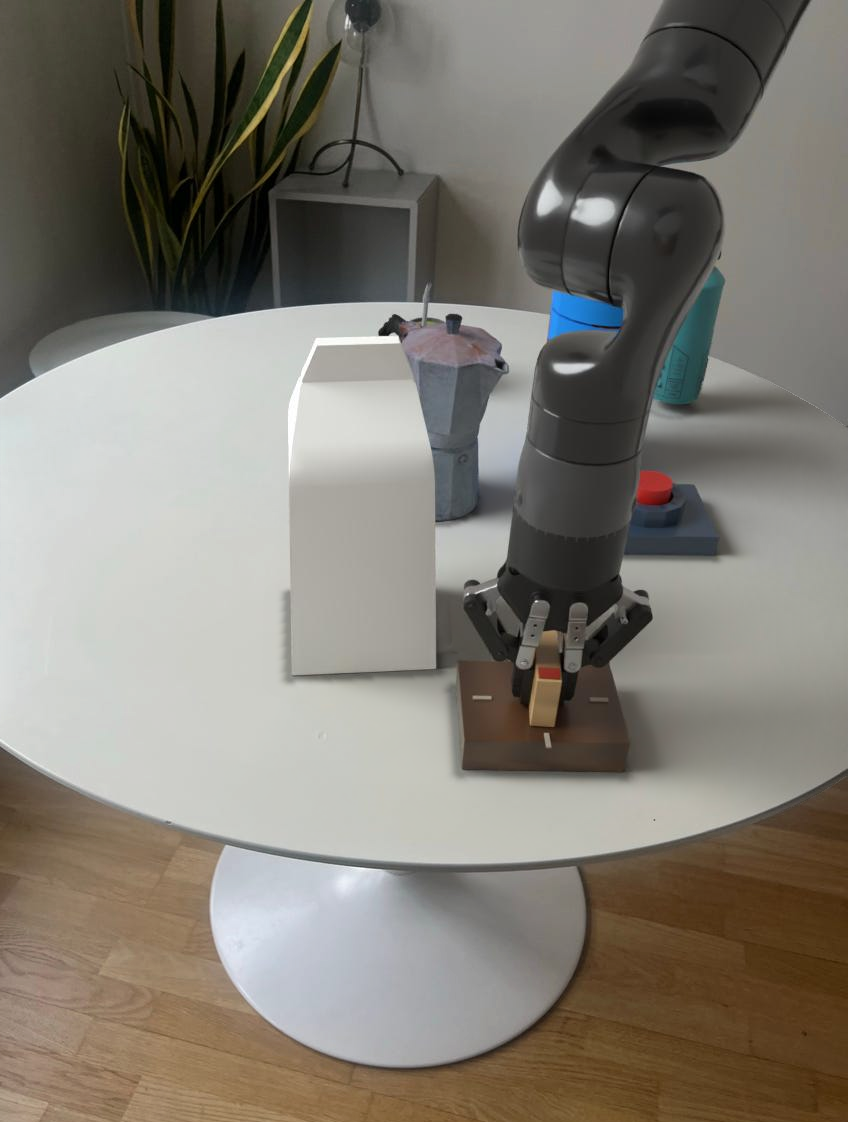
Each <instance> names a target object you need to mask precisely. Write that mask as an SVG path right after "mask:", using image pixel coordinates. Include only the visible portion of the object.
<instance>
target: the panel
mask: <svg viewBox="0 0 848 1122" xmlns="http://www.w3.org/2000/svg"><path fill="white" fill-rule="evenodd" d="M456 665H457V667H456V679H455V698H456V710H457V712H456V713H457V724H458V725H457V726H458V737H459V750H460V751H459V753H460V764H461V765H460V766H461V770H481V771H482V770H486V771H542V772H543V771H544V772H545V771H551V772H610V773H611V772H613V773H614V772H615V773H616V772H617V773H624V772H625V768H626V764H627V761H628V756H629V752H630V749H631V745H632V743H631V742H632V741H631V738H630V735H629V732H628V727H627V724H626V719H625V716H624V712H623V709H622V706H621V700H620V697H619V694H618V690H617V687H616V686H617V685H616V682H615V679H614V675H613V672H612V668H611V664H610V662H609V663H608V664H607V665H605V666H604V667H601V668H596V667H594V666H592V665H587V666H584V667H582V668H581V669H580V670H579V673H578V677H577V683H576V688H575V693H574V696H573V698H572V699H571V700H570V701H567V700H564V705H563V707H558V709H557V715H556V721H555V726H554V727H543V726H531V725H530V717H529V705H526V704H520V703H519V697H514V696H513V694H512V686H511V678H512V671H513V662H511V661H510V660H505V661H496V660H472V659H471V660H470V659H466V660H465V659H464V660H462V659H458V660H457V664H456Z"/></svg>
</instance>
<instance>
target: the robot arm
mask: <svg viewBox="0 0 848 1122" xmlns="http://www.w3.org/2000/svg"><path fill="white" fill-rule="evenodd" d="M812 2H813V0H662V2H661V3H660V5H659V7H658V9H657V11H656V12H655V15H654V17H653V19H652V21H651V23H650V25H649V27H648V29H647V31H646V33H645V35H644V37H643V39H642V41H641V43H640V44H639V47H638V48H637V51H636V53H635V55H634V56H633V59H632V60H631V63H630V64H629V66H628V67H627V69H626V70H625V71H624V72H623V74H622V75H621V76H620V77H619V78H617V80H616V81H615V82H613V84H612V85H611V86H610V88H608V90H606V92H605V93H604V94H603V96H602V97H601V98H600V99H599V100H598V101H597V102H596V104H594V106H593V107H592V108H591V109H590V111H588V112H587V114H586V115H585V116H584V117H583V118H582V119H581V121H580V122H579V123H578V124H577V125H576V126H575V127H574V128H573V130H571V132H570V133H569V134H568V135H567V136H566V137H565V138H564V139H563V141H562V142H561V143H560V144H559V145H558V146H557V148H556V149H555V150H554V152H553V153H552V154H551V155H550V156H549V158H547V160H546V162H545V163H544V164H543V166H542V167H541V169H540V170H539V172H538V174H537V176H536V177H535V178H534V180H533V182H532V184H531V186H530V188H529V190H528V191H527V194H526V197H525V199H524V202H523V204H522V208H521V211H520V214H519V219H518V224H517V234H516V235H517V236H516V237H517V251H518V256H519V260H520V263H521V266H522V268H523V270H524V272H525V273H526V275H527V276H528V278H530V279H531V281H533V282H534V283H535V284H537V285H538V286H540V287H542V288H544V289H547V290H550V291H552V292H553V291H556V292H560V293H563V294H567V295H571V296H576V297H579V298H583V299H587V300H591V301H594V302H598V303H602V304H606V305H610V306H614V307H618V308H620V309H623V320H622V324H621V327H620V329H619V330H579V331H572V332H567V333H563V334H560V335H557V336H555V337H554V338H552V339H550V340H549V341H548V342H547V341H546V343H545V344H544V345H543V346H542V348H541V349H540V350H539V353H538V356H537V358H536V363H535V367H534V371H533V372H534V374H533V379H532V381H533V382H532V388H531V395H530V403H529V410H528V418H527V427H526V434H525V438H524V443H523V445H522V450H521V454H520V457H519V461H518V465H517V466H518V467H517V473H516V481H515V489H514V495H513V496H514V497H513V505H512V514H511V521H510V530H509V538H508V546H507V555H506V559H505V561H504V563H503V565H501V566H500V568H498V571H497V575H496V577H495V578H493V579H490V580H487V581H484V582H482V583H481V582H480V581H479V580H476V579H468V580H467V581H465V583H464V585H463V599H462V601H463V610H464V612H465V614H466V616H467V617H468V619H469V620H470V622H471V624H472V626H473V628H474V629H475V631H476V633H477V634H478V636H479V638H480V639H481V641H482V642H483V644H484V646H485V648H486V649H487V651H488V653H489V654H490V656H491V658H492V659H493V661H511V662H513V671H512V678H511V686H512V694H513V696H514V697H519V703H520V704H526V705H529V703H530V697H531V691H532V685H533V678H534V672H535V668H534V657H535V653H536V649H537V648H538V647H539V644H540V640H541V636H542V633H543V632H545V631H552V630H555V631H558V633H562V637H561V638H562V641H561V652H559V653H560V663H561V674H562V686H561V692H560V698H559V704H558V707H563V705H564V700H567V701H570V700H571V699H572V698H573V696H574V693H575V688H576V683H577V677H578V673H579V670H580V669H581V668H582V667H584V666H587V665H592V666H594V667H596V668H601V667H604V666H605V665H607V664H608V663H609V664H610V662H611V661H612V660H613V659H614V658H615V657H616V656H617V655H618V654H619V653H620V652H621V651H622V650H623V649H625V648H626V646H628V644H630V643H631V642H632V641H633V640H634V639H635V638H636V637H638V635H639V634H640V633H641V632H642V631H643V630H645V628H646V627H647V626H648V625H649V624H650V623H651V622H652V621H653V619H654V616H653V611H652V606H651V602H650V597H649V593H648V592H647V590H645V589H636V590H634V591H632V590H630V589H628V588H626V587H624V586H623V583H622V582H623V581H622V576H621V573H620V572H621V569H622V568H621V567H622V563H623V559H624V556H625V555H624V550H625V545H626V541H627V536H628V532H629V527H630V522H631V518H632V513H633V511H634V510H635V507H636V503H637V498H638V497H637V490H638V485H639V479H640V471H642V469H641V467H642V452H643V446H644V441H645V436H646V432H647V428H648V422H649V417H650V414H651V408H652V405H653V399H654V398H653V395H654V391H655V388H656V385H657V382H658V379H659V376H660V374H661V371H662V369H663V366H664V364H665V362H666V359H667V357H668V354H669V352H670V350H671V348H672V345H673V343H674V341H675V339H676V337H677V335H678V333H679V331H680V329H681V327H682V325H683V323H684V321H685V319H686V317H687V315H688V313H689V312H690V310H691V308H692V306H693V305H694V303H695V301H696V299H697V298H698V296H699V294H700V292H701V291H702V289H703V287H704V285H705V283H706V282H707V280H708V278H709V276H710V274H711V272H712V270H713V268H714V266H715V267H716V264H717V261H718V260H717V259H718V257H719V254H720V252H721V253H722V250H723V249H722V248H723V246H724V245H723V244H724V241H725V233H726V213H725V209H724V204H723V200H722V198H721V195H720V193H719V190H718V189H717V188H716V186H715V185H714V183H713V182H712V181H711V180H709V179H708V178H707V177H705V176H704V175H701V174H699V173H696V172H693V171H690V170H689V171H688V170H684V169H680V168H679V169H678V168H673V167H668V165H674V164H684V163H694V162H701V161H702V162H703V161H707V160H711V159H715V158H717V157H719V156H721V155H724V154H725V153H726V152H729V150H731V149H732V148H733V147H734V146H735V145H736V144H737V143H738V141H739V140H740V138H741V137H742V136H743V134H744V132H745V131H746V130H747V128H748V126H749V124H750V122H751V120H752V119H753V117H754V115H755V113H756V111H757V108H759V105H760V103H761V101H762V99H763V97H764V95H765V94H766V91H767V89H768V87H769V86H770V83H771V81H772V79H773V78H774V76H775V73H776V71H777V70H778V68H779V65H780V64H781V62H782V60H783V58H784V56H785V55H786V52H787V50H788V48H789V46H790V44H791V42H792V40H793V38H794V36H795V34H796V32H797V30H798V28H799V26H800V24H801V22H802V21H803V19H804V17H805V15H806V13H807V12H808V10H809V7H810V6H811V4H812ZM500 597H501V598H502V599H503V601H504V602H505V603H506V604H507V606H508V607H509V608H510V610H511V611H512V613H513V614H514V615H515V616H516V618H517V619H518V620H519V623H518V627H517V632H516V635H513V634H510V633H509V632H508V629H507V628H506V625H505V624H504V622H503V621H502V619H501V618H500V615H499V614H498V612H497V609H498V599H499V598H500ZM612 607H613V612H612V613H611V614H610V615H609V616H608V617H607V618H606V619H605V620H604V621H603V622H602V623H601V624H600V625H599V626H598V627H597V628H596V629H594V631H593V632H592V633H591V634H590V635H589V636H588V638H587V639H586V629H587V628H588V627H589V626H590V625H591V624H593V623H594V622H595V621H596V620H598V619H599V618H600V617H601V616H602V615H604V614H605V613H606V612H607V611H609V610H610V609H612Z"/></svg>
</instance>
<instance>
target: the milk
mask: <svg viewBox="0 0 848 1122" xmlns="http://www.w3.org/2000/svg"><path fill="white" fill-rule="evenodd" d="M287 427H288V429H287V430H288V431H287V433H288V436H287V437H288V500H289V501H288V507H289V508H288V509H289V510H288V512H289V513H288V514H289V515H288V516H289V573H290V574H289V575H290V576H289V577H290V579H289V581H290V583H289V584H290V585H289V586H290V587H289V588H290V591H289V592H290V650H291V652H290V656H291V658H290V659H291V663H290V664H291V676H309V675H311V676H312V675H329V674H330V675H331V674H332V675H335V674H353V673H354V674H355V673H372V672H373V673H375V672H376V673H378V672H400V671H421V670H423V671H424V670H436V669H437V607H436V606H437V597H436V595H437V594H436V593H437V591H436V590H437V588H436V586H437V585H436V520H435V472H434V463H433V457H432V451H431V447H430V442H429V438H428V434H427V429H426V425H425V421H424V417H423V412H422V408H421V404H420V400H419V395H418V391H417V387H416V383H415V379H414V375H413V372H412V368H411V366H410V364H409V361H408V359H407V356H406V354H405V351H404V349H403V346H402V344H401V341H400V339H399V336H398V335H389V336H379V335H377V336H374V335H373V336H340V337H338V336H337V337H316V338H315V340H314V342H313V344H312V347H311V349H310V352H309V354H308V356H307V359H306V361H305V363H304V365H303V368H302V370H301V375H299V377H298V379H297V382H296V385H295V386H294V389H293V391H292V395H291V397H290V400H289V403H288V413H287Z"/></svg>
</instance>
